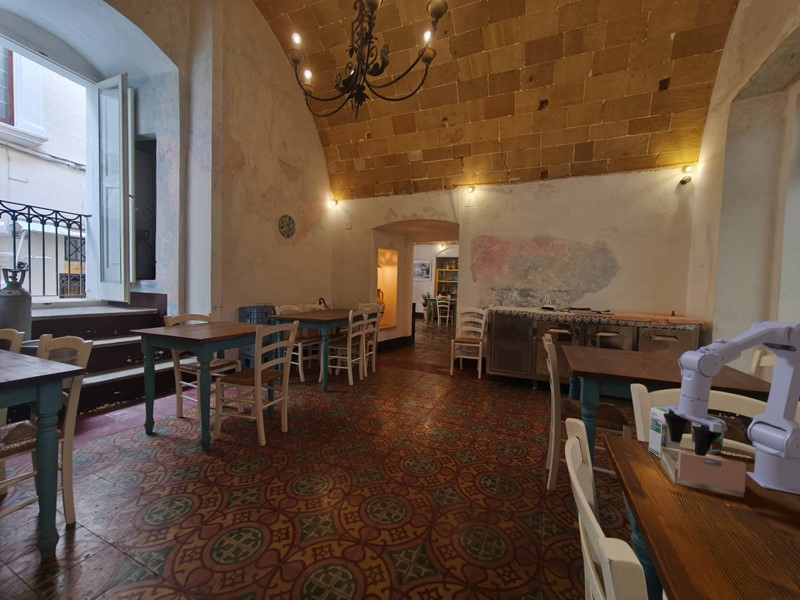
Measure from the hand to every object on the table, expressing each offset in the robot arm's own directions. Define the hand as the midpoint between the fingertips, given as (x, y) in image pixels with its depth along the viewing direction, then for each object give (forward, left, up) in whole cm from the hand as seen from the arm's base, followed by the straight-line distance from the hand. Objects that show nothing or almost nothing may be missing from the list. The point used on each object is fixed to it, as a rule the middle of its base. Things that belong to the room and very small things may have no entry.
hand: (687, 448), depth 89 cm
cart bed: (-5, -6, -10) cm, 13 cm away
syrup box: (0, -19, -10) cm, 21 cm away
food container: (-17, -32, -10) cm, 38 cm away
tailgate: (-5, +1, -8) cm, 9 cm away
